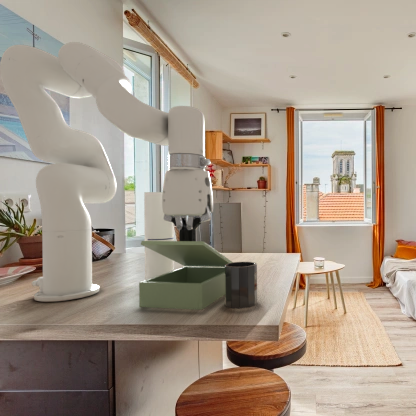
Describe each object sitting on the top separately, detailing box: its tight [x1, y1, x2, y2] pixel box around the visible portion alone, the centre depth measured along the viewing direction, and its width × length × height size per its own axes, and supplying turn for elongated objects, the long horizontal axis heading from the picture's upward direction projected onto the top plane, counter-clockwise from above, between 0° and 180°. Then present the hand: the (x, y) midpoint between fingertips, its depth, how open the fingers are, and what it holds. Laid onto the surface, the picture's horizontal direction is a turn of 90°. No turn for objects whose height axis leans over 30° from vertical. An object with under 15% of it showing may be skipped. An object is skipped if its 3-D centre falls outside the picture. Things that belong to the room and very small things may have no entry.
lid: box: [140, 240, 233, 267], centre depth 74 cm, size 18×14×1 cm
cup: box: [224, 261, 258, 310], centre depth 68 cm, size 6×6×9 cm
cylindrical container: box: [143, 191, 175, 281], centre depth 88 cm, size 7×7×25 cm
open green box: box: [138, 266, 225, 311], centre depth 74 cm, size 18×14×6 cm
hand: (187, 247), depth 72 cm, fingers closed
